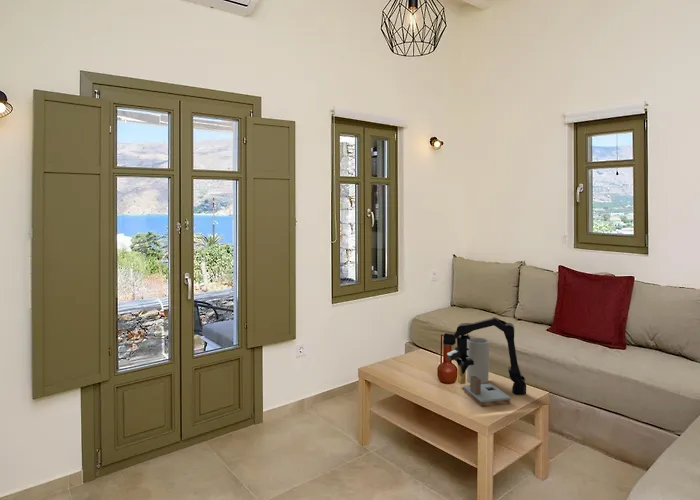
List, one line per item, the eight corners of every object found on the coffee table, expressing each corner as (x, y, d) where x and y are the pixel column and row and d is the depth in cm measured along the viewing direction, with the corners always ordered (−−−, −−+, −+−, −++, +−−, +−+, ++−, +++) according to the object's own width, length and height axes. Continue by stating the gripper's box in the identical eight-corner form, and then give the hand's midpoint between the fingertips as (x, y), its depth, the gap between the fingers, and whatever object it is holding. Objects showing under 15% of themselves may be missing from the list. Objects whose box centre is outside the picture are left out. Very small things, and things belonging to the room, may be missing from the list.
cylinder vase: (490, 385, 278) (491, 343, 275) (469, 385, 278) (469, 343, 276) (485, 377, 290) (485, 337, 288) (464, 377, 290) (465, 337, 288)
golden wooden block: (463, 381, 275) (463, 364, 274) (465, 383, 272) (465, 366, 271) (457, 382, 274) (458, 365, 273) (460, 384, 271) (460, 366, 270)
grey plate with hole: (491, 385, 268) (491, 369, 268) (510, 399, 248) (510, 382, 248) (464, 387, 265) (464, 371, 264) (481, 402, 245) (481, 385, 244)
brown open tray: (490, 391, 268) (490, 385, 268) (509, 405, 249) (509, 399, 249) (464, 393, 265) (464, 387, 265) (481, 408, 246) (481, 402, 245)
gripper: (442, 342, 279) (442, 368, 280) (455, 351, 260) (455, 379, 262) (460, 341, 281) (459, 367, 282) (474, 350, 263) (474, 377, 264)
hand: (461, 372), depth 273 cm, fingers closed on golden wooden block, 3 cm apart
